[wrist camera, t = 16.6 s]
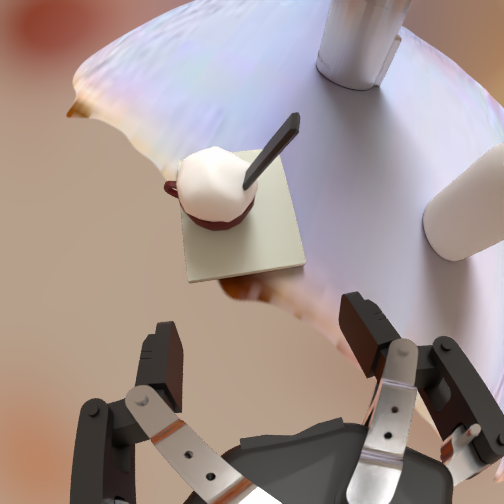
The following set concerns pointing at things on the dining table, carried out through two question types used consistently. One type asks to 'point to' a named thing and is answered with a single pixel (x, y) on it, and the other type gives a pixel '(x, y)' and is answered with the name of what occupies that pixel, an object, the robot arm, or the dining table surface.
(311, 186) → the dining table surface
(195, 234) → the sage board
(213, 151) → the cocoa
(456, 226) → the milk bottle
